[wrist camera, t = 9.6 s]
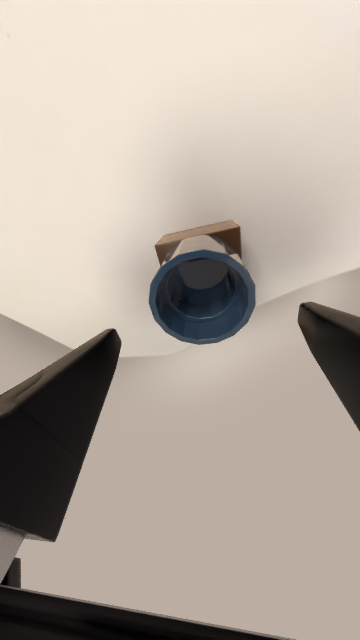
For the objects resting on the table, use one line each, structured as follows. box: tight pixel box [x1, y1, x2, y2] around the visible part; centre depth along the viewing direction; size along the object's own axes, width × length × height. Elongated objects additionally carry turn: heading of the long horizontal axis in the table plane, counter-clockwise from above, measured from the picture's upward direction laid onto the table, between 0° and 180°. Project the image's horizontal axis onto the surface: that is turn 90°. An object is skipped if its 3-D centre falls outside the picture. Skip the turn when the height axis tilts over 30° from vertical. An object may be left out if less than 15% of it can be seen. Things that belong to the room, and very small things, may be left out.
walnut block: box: [155, 220, 242, 266], centre depth 16 cm, size 6×6×4 cm
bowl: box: [149, 235, 255, 345], centre depth 13 cm, size 6×6×4 cm
